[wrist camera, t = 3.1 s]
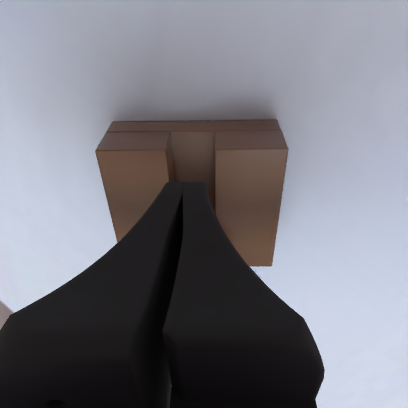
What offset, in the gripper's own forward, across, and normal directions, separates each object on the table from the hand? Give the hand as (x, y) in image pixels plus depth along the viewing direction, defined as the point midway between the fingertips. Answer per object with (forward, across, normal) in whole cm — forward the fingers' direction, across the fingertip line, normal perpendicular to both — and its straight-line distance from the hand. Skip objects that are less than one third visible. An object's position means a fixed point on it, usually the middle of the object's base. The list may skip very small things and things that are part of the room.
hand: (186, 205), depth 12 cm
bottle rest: (+6, 0, +3) cm, 7 cm away
